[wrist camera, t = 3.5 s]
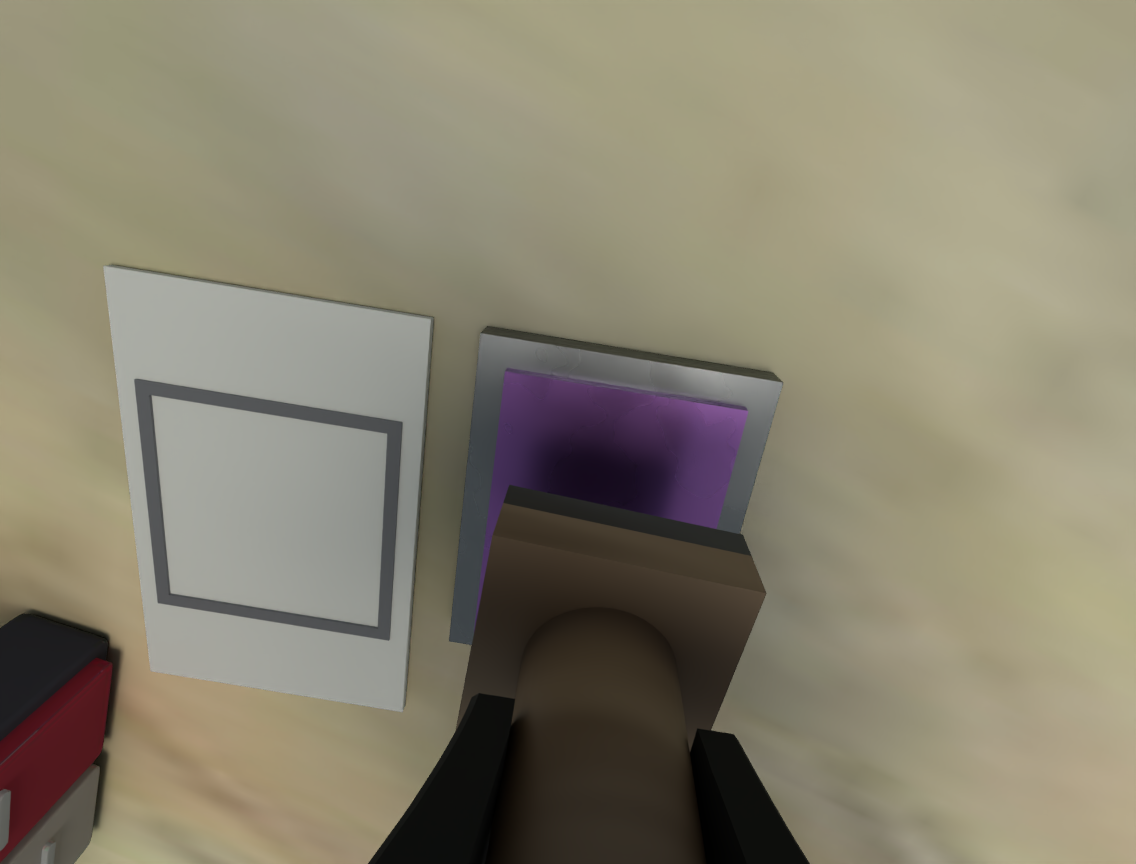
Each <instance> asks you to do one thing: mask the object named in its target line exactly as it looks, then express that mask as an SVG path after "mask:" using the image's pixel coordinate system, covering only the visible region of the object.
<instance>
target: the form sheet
mask: <svg viewBox="0 0 1136 864" xmlns="http://www.w3.org/2000/svg"><path fill="white" fill-rule="evenodd" d="M103 267H104V275H105V284H106V293H107V301H108V310H109V318H110V327H111V336H112V344H113V353H114V361H115V370H116V379H117V387H118V396H119V404H120V413H121V422H122V430H123V439H124V447H125V456H126V465H127V473H128V482H129V490H130V499H131V508H132V516H133V525H134V533H135V542H136V550H137V559H138V568H139V576H140V585H141V593H142V602H143V611H144V619H145V628H146V636H147V645H148V654H149V662H150V671H152V672H159V673H165V674H171V675H177V676H183V677H189V678H195V679H202V680H208V681H214V682H220V683H226V684H232V685H239V686H245V687H251V688H257V689H263V690H269V691H275V692H282V693H288V694H294V695H300V696H306V697H312V698H319V699H325V700H331V701H337V702H343V703H349V704H356V705H362V706H368V707H374V708H380V709H386V710H392V711H399V712H403V710H404V707H405V701H406V687H407V674H408V660H409V647H410V633H411V620H412V606H413V593H414V579H415V565H416V552H417V538H418V525H419V511H420V498H421V484H422V471H423V457H424V443H425V430H426V416H427V403H428V389H429V376H430V362H431V349H432V335H433V321H434V317H428V316H422V315H416V314H410V313H403V312H397V311H391V310H385V309H379V308H373V307H367V306H361V305H354V304H348V303H342V302H336V301H330V300H324V299H318V298H312V297H305V296H299V295H293V294H287V293H281V292H275V291H269V290H262V289H256V288H250V287H244V286H238V285H232V284H226V283H220V282H213V281H207V280H201V279H195V278H189V277H183V276H177V275H171V274H164V273H158V272H152V271H146V270H140V269H134V268H128V267H122V266H115V265H107V266H103Z"/></svg>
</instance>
